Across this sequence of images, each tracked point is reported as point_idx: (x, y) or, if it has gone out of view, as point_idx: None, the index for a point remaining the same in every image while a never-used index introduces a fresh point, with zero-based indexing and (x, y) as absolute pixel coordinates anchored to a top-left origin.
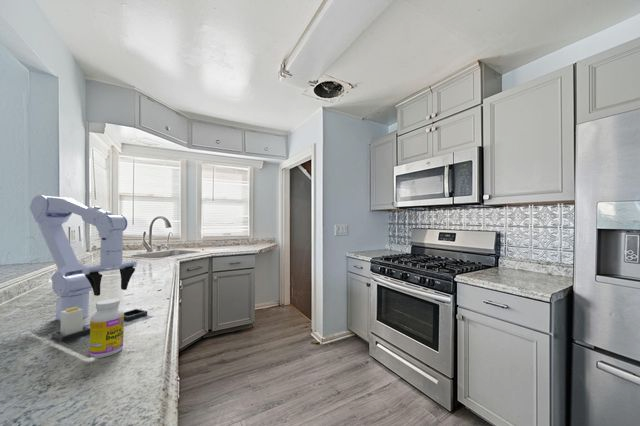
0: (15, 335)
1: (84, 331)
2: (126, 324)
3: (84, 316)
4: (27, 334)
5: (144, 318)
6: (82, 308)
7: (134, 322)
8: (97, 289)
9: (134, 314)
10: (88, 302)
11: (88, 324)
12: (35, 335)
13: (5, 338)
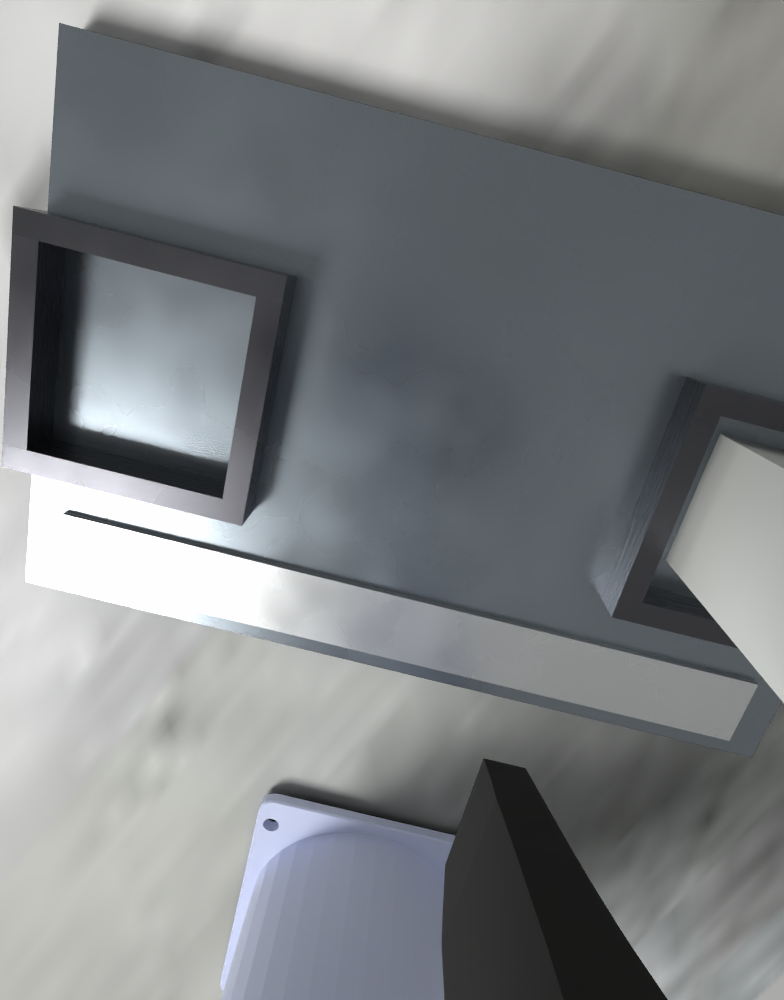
0: (704, 988)
1: (757, 397)
2: (399, 163)
3: (332, 848)
4: (681, 933)
5: (161, 109)
6: (343, 934)
7: (316, 114)
8: (587, 884)
9: (99, 405)
10: (247, 995)
11: (494, 619)
12: (696, 863)
13: (759, 994)
